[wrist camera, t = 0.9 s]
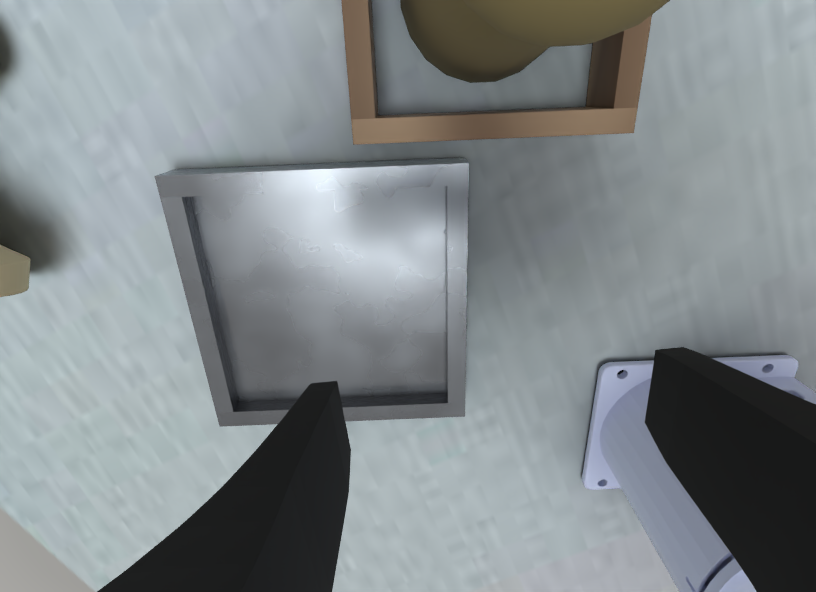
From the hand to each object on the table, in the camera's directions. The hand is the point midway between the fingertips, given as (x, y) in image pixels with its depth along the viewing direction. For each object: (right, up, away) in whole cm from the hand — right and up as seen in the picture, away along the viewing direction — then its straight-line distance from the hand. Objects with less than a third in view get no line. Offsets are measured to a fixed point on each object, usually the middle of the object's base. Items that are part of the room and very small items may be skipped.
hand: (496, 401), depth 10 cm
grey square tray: (-5, +2, +10) cm, 12 cm away
